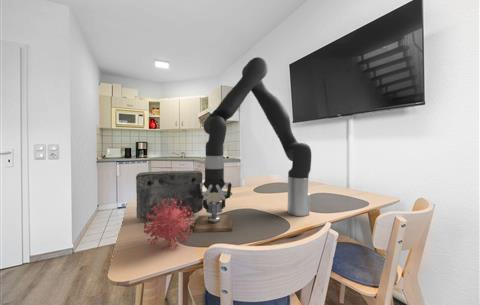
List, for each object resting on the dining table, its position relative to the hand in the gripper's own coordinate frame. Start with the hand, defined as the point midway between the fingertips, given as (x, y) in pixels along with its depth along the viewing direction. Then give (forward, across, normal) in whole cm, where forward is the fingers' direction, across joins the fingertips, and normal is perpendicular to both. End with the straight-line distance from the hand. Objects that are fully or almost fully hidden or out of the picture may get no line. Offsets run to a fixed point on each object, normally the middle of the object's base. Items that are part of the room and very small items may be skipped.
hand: (214, 208), depth 81 cm
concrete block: (+7, +19, -9) cm, 22 cm away
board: (+6, 0, 0) cm, 6 cm away
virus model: (+7, +13, +17) cm, 22 cm away
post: (+5, 0, 0) cm, 5 cm away
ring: (+1, 0, 0) cm, 1 cm away
